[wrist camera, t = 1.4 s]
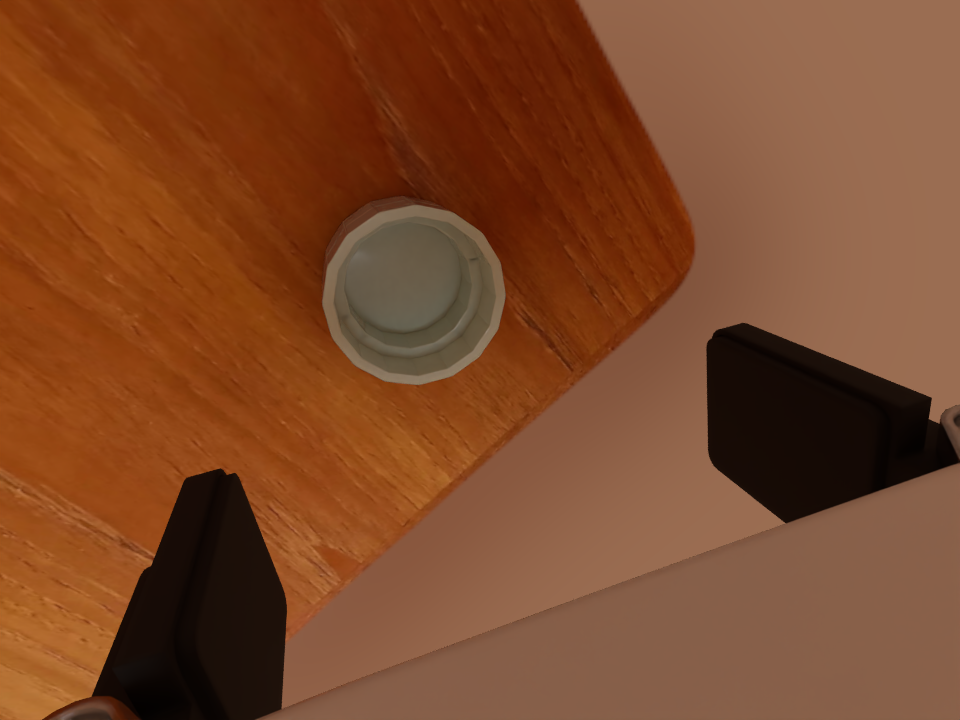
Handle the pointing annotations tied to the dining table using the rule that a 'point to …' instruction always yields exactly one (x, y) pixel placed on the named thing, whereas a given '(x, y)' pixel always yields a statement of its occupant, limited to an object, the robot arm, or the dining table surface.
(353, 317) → the bowl
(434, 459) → the dining table surface
